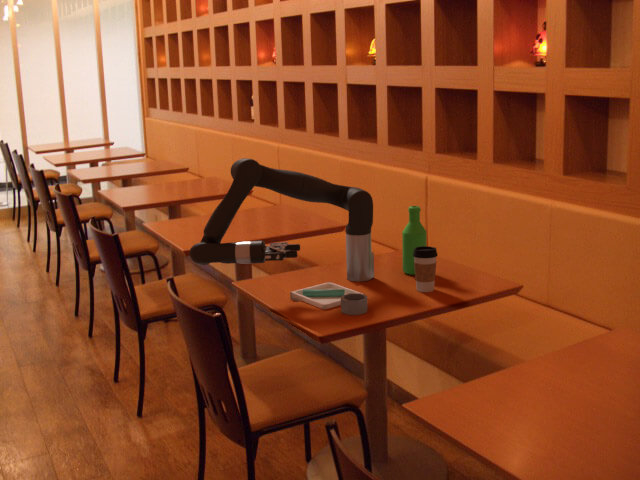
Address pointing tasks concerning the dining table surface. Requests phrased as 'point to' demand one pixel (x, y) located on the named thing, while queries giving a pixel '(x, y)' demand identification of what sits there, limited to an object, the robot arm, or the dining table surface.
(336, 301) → the tray
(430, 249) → the coffee cup
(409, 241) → the bottle
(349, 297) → the cup
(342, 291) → the green rounded rod
